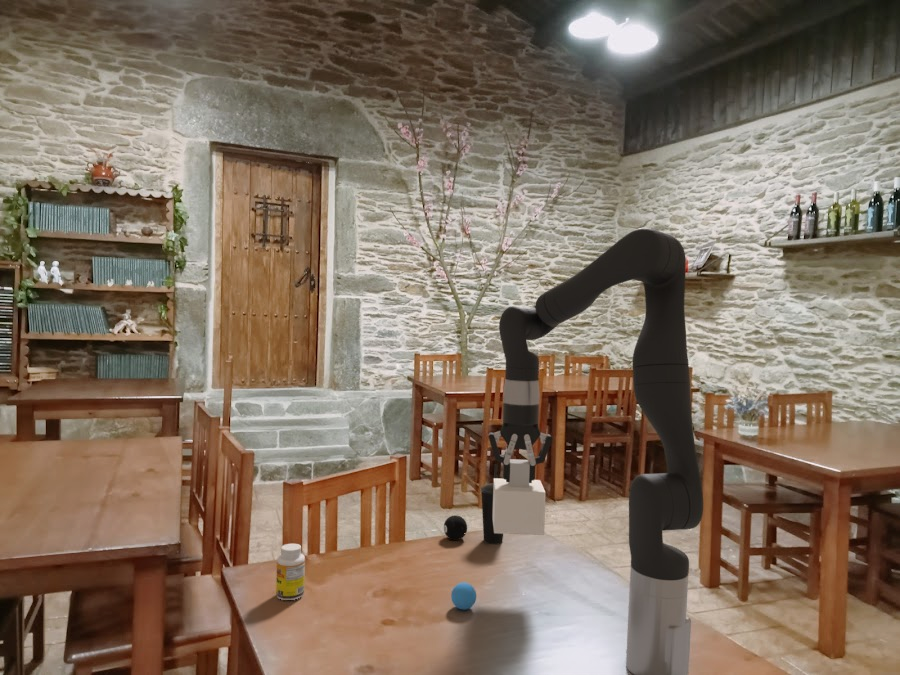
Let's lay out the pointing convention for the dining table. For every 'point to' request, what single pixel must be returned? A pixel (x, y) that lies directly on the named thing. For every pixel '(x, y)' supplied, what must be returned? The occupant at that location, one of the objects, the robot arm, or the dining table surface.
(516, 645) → the dining table surface
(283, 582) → the supplement bottle
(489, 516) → the drinking cup
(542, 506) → the white block with stub
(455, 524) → the billiard ball
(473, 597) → the blue ball
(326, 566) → the dining table surface
